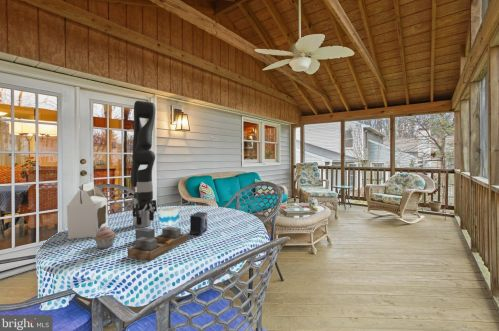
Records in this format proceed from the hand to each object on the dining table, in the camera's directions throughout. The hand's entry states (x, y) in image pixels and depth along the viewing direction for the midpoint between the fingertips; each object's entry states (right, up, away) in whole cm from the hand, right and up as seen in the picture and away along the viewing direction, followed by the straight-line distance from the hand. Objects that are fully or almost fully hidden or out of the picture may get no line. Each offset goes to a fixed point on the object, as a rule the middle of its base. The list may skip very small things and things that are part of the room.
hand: (145, 222), depth 133 cm
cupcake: (-16, -10, -7) cm, 20 cm away
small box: (+24, -9, +15) cm, 30 cm away
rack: (+11, -10, -10) cm, 18 cm away
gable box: (-38, -9, +15) cm, 42 cm away
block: (0, -10, +1) cm, 10 cm away
